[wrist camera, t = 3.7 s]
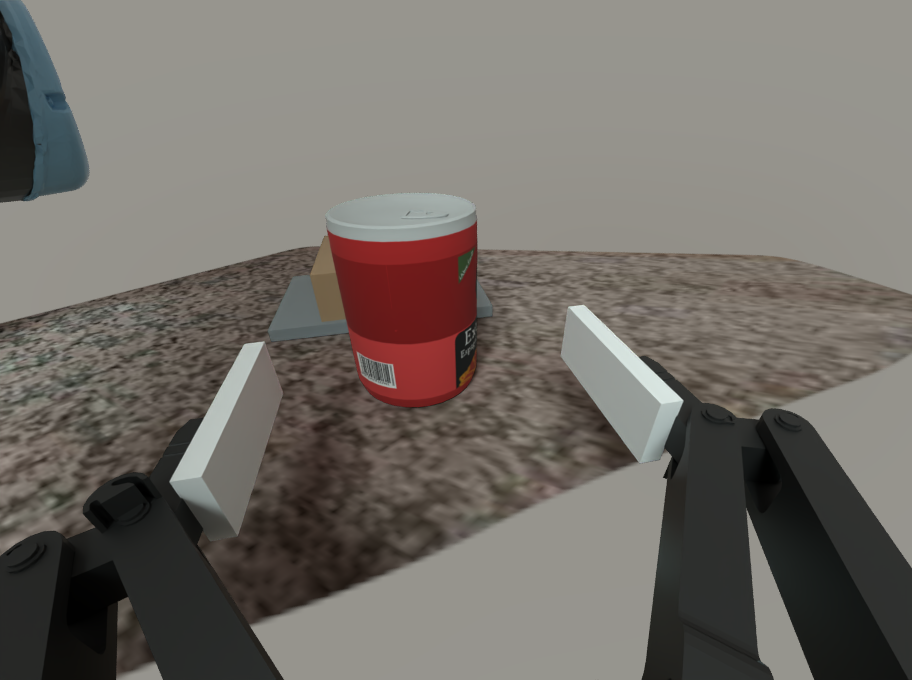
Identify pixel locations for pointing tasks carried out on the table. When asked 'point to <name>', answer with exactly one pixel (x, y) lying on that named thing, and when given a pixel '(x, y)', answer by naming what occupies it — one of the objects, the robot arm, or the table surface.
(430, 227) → the canned food
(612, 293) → the table surface
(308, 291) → the plinth
